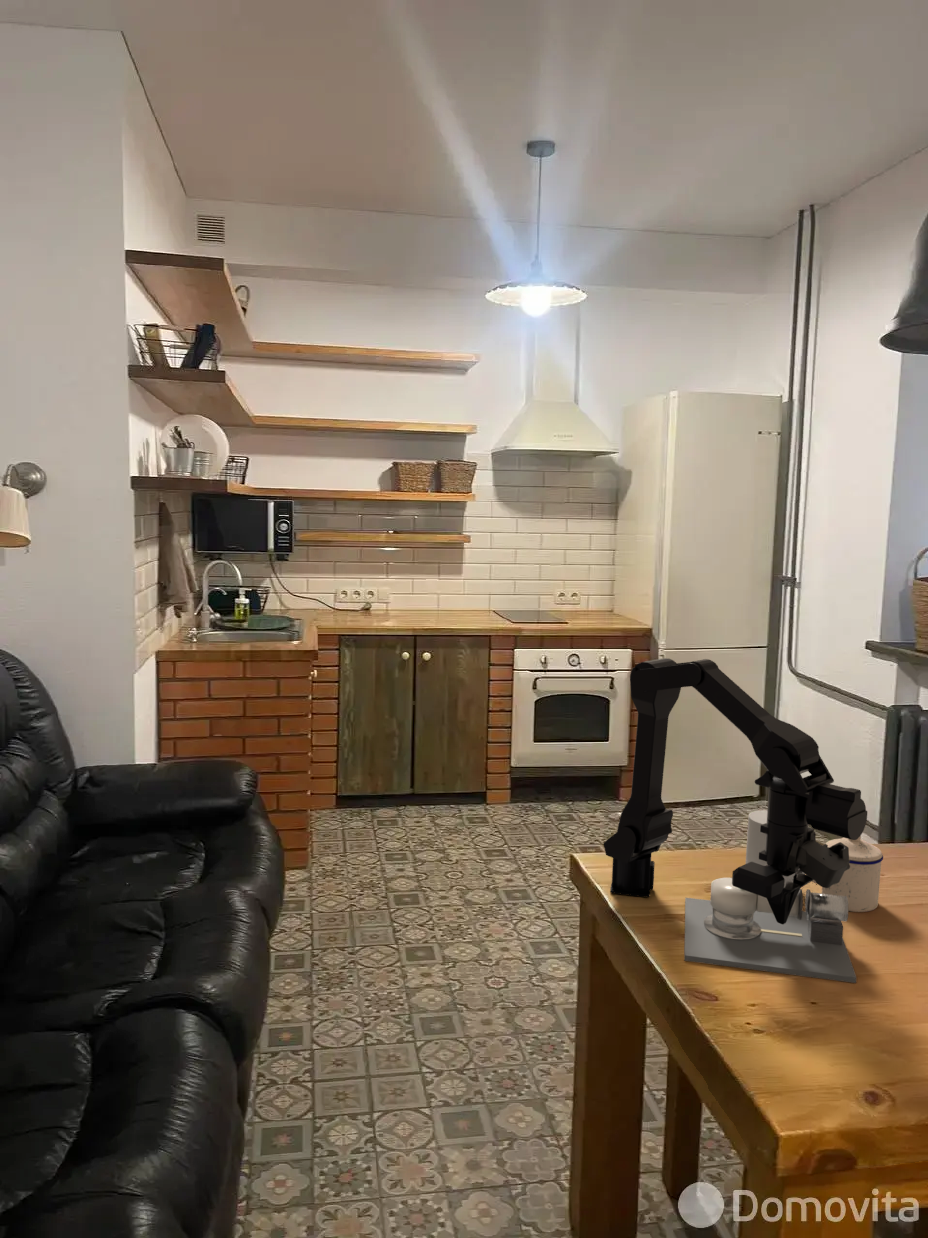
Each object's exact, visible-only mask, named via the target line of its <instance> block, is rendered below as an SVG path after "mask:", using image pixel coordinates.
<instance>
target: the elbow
mask: <svg viewBox="0 0 928 1238" xmlns="http://www.w3.org/2000/svg"><path fill="white" fill-rule="evenodd" d="M803 897H804V896H803V889H802V888H800V890H799V892H798V894H797V896H796V899H795V901H794V904H793V906H792V909H791V911H790V914H789V916H796V918H797V919H798V920H801V918H802V911H803V908H804V907H803V906H804V904H803V903H804V899H803ZM709 900H710V904H711V906H712V907H713V908H714V909H716V910H718V911H720V912H723V913H726V914H730V915H739V916H743V915H750V914H753V913H754V912H756V910H757V912H765V913H773V912H772V909H771V907H770V905H769V902H768V900H767V898H765V897H762V896H759V895H757V894H754V893H751V892H748V891H746V890H743V889H740V888H737V887H735V886H733V885H732V877H720V878H716V879H714V880H712V881H711V884H710V899H709Z"/></svg>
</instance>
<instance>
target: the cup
mask: <svg viewBox="0 0 928 1238" xmlns="http://www.w3.org/2000/svg"><path fill="white" fill-rule="evenodd" d="M767 810H768V809H765V810H764V809H761V810H754V811H751V812H750V813H748V817H747V822H748V823H747V830H746V831H747V833H746V851H745V864H747V863H749V862H754V863H757V864H760V865H763V866H766V865H768V864H767V862H766V861H763V860H760V859H759V852H761V851H764V850H765V843H766V834H765V833H762V832H760V827H761V825H763V824H765V823H767Z"/></svg>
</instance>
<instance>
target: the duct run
mask: <svg viewBox="0 0 928 1238" xmlns="http://www.w3.org/2000/svg"><path fill="white" fill-rule="evenodd" d="M804 900H805V902H804V904H805V905H804V908H805V909H804V911H805V913H806V919H807V920H808V935H809V939H810V941H811V942H819V943H827V944H835V945H842V937H843V934H844V933H843V932H844V926H843V925H844V924H843V922H847V921H848V918H849V911H848V899H847V896H839V895H830V894H822V892H821V893H820V892H819V893H818V892H811V889H806V891H805V899H804Z"/></svg>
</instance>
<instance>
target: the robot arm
mask: <svg viewBox="0 0 928 1238" xmlns="http://www.w3.org/2000/svg"><path fill="white" fill-rule="evenodd" d="M629 682H630V683H629V686H630V698H631V700H632V702H633V704H634V707H635V709H636V711H637V723H636V734H635V735H636V736H635V745H634V746H635V747H634V756H633V757H634V758H633V759H634V760H633V770H632V778H631V779H632V780H631V782H632V783H631V791H630V792H631V793H630V797H629V799H628V801H627V802H626V803H625V805H624V808H623V809H622V810H621V813H620V817H619V821H618V825H617V830H616V832H615V833H613V835H611V836H610V837H608V839H606V840H605V841H604V842H603V848H604V852H605V855H606V856H608V857H610V858H611V859H612V865H611V866H612V869H611V870H612V872H611V873H612V874H611V884H610V887H609V888H610V889H609V892H610V893H611V894H615V895H616V894H617V895H624V896H625V895H626V896H634V897H643V898H649V897H650V895H651V891H652V890H654V885H655V884H654V883H655V865H656V864H655V861H654V860H652V854H653V853H656V852H659V851H660V847H661V846H662V844H663V843H665V842H666V841H667V839H668V838H669V835H670V834H672V833H673V830H672V819H673V816H674V810H672V809H668V808H666V807H665V804H664V802H663V799H662V792H663V782H664V781H663V779H664V769H665V761H666V760H665V758H666V748H667V738H668V725H669V716H670V713H671V711H672V710H673V709H674V707H675V704H676V703H677V702H678V699H679V697H680V694H681V693H680V692H681V690H682V688H689V687H691V688H693V689H695V690H696V691H697V692H698V693H699V694H700V695H701V696H702V697H703V698H704V699H705V700H706V701H708V702H709V703H710V704H711V705H712V706H713V707H714V708H715V709H716V710H717V711H718V712H719V713H721V715H722V716H724V717H725V718H726V719H727V720H728V721H729V722H730V723H731V724H732V725H733V726H735V728H737V730H739V731H740V732H741V733H742V734H743V735H744V736H745V737H746V738H747V739H748V740H749V742H750V743H751V746H752V748H753V752H754V754H755V756H756V757H757V758H758V759H759V762H761V764H762V765H763V766H764V768H765V769H766V771H765V772H764V773H763V774H762V775H761V776H760V777H758V778H756V779H755V780H754V783H755V785H757V786H761V787H765V788H768V793H767V795H768V796H767V809H766V810H767V823H765V824H763V825H761V827H760V832H762V833H765V834H766V843H765V850H764V851H761V852H759V859H760V860H763V861H766V862H767V864H768V865H766V866H763V865H760V864H757V863H754V862H749V863H747V864H746V863H744V864H743V865H740V866H739V867H736V868H735V869H734V870H733V871H732V873H731V875H732V876H731V878H732V885H733V886H735V887H737V888H740V889H743V890H746V891H748V892H751V893H754V894H757V895H759V896H762V897H765V898H767V900H768V902H769V905H770V907H771V909H772V912H773V914H774V916H775V919H776V921H777V922H778V923H780V924H785V923H786V921H787V919H788V916H789V914H790V911H791V909H792V906H793V904H794V901H795V899H796V896H797V894H798V892H799V890H800V889H802V888H803V887H804V886H806V885H808V884H809V883H811V882H812V881H813V880H815V881H816V883H817V884H816V883H815V884H816V885H818V886H820V887H821V888H822V887H824V888H829V887H831V886H832V885H833V884H835V883H839V882H840V880H841V878H842V876H843V874H844V872H845V871H846V870H848V869H850V865H849V862H850V860H849V848H848V847H847V846H845V845H844V844H843V843H841V842H839V843H837V844H835V845H833V846H831V847H830V848H829V847H828V845H827V844H826V843H824V844H821V843H819V842H817V841H816V837H817V835H816V834H817V833H816V832H815V830H816V831H819V832H823V833H827V834H830V835H834V836H838V837H841V838H848V839H851V840H857V839H858V838H859V837H860V836H861V837H862V834H863V832H864V830H865V828H866V824H867V821H868V810H867V807H866V804H865V801H864V800H863V799H862V797H861V796H862V790H860V789H857V788H854V787H844V786H838V785H835V784H833V783H834V782H835V781H834V780H835V779H834V778H833V776H832V774H831V773H830V771H829V769H828V768H827V766H826V764H825V762H824V760H823V758H822V756H820V753H819V748H820V747H819V744H818V743H817V741H816V740H815V739H814V738H813V737H812V736H810V735H809V734H808V733H807V732H805V731H803V730H801V729H800V728H798V727H797V726H795V725H793V724H790V723H788V722H785V721H783V720H780V719H778V718H776V717H775V716H773V715H771V713H769V711H767V710H766V709H765V708H764V707H762V706H761V704H759V703H758V702H757V701H756V700H755V699H753V698H752V697H751V695H749V694H748V693H747V692H746V691H745V690H744V689H742V688H741V687H740V686H739V685H738V684H737V683H736V682H734V680H732V679H731V678H730V677H729V676H727V675H726V673H724V672H723V671H722V670H721V669H720V668H719V666H718V664H717V663H716V662H715V661H713V660H711V659H708V658H704V659H699V660H694V661H686V662H685V661H684V662H678V663H677V662H676V661H675V660H673V659H671V658H667V657H666V658H659V659H653V660H647V661H642V662H638V663H637V664H636V665H635V666H634V667H632V668H631V670H630V674H629ZM806 772H808V773H809V774H810V775H807V776H804V777H803V776H802V774H804V773H806ZM809 826H811V827H809Z"/></svg>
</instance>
